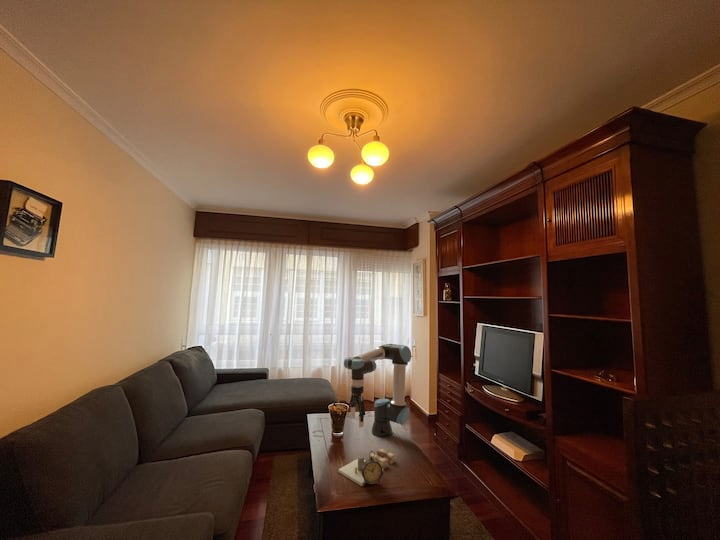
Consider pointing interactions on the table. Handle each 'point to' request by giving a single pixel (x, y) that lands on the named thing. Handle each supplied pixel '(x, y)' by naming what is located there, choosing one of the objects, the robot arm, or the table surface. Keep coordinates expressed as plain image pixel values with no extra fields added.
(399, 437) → the table surface
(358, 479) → the post board
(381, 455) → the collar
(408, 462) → the table surface
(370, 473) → the alarm clock
